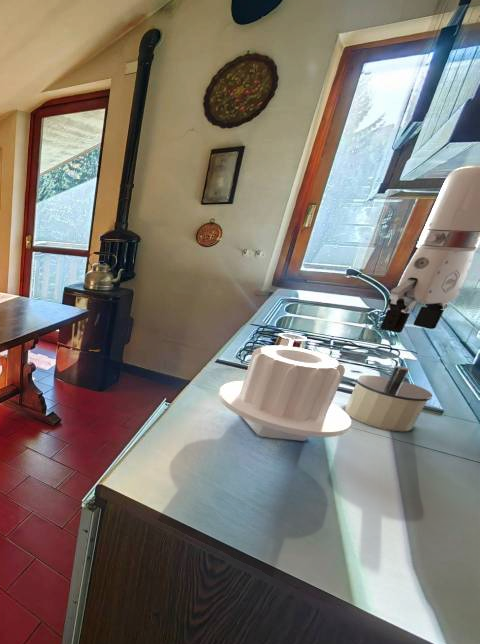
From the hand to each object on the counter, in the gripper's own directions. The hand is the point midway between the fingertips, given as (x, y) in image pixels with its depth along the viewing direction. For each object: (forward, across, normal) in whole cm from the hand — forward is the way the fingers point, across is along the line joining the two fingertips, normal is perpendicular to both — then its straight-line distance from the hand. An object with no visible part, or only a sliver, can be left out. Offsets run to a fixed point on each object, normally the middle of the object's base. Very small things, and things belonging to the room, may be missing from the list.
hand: (407, 328), depth 79 cm
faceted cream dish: (+27, +18, +6) cm, 34 cm away
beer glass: (+28, +13, +29) cm, 42 cm away
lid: (+19, +18, +6) cm, 27 cm away
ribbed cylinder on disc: (+27, -13, +10) cm, 32 cm away
